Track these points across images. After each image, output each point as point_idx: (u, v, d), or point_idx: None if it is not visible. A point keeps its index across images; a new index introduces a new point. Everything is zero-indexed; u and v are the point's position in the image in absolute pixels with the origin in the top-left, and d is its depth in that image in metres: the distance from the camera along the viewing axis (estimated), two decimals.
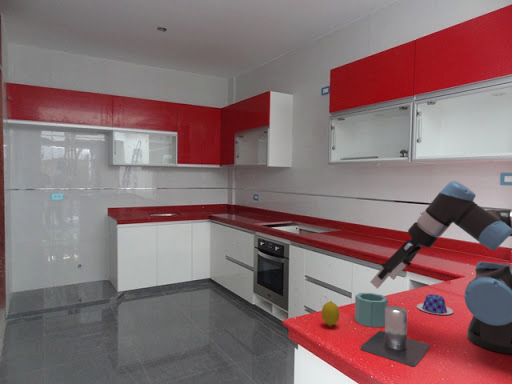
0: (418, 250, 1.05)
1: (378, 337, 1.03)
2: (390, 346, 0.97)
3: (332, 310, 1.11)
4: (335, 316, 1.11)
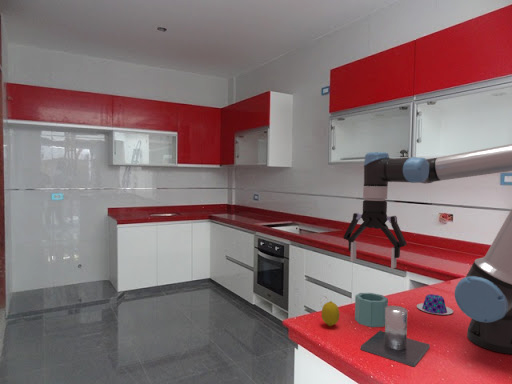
0: (374, 220, 1.16)
1: (378, 337, 1.03)
2: (390, 346, 0.97)
3: (332, 310, 1.11)
4: (335, 316, 1.11)
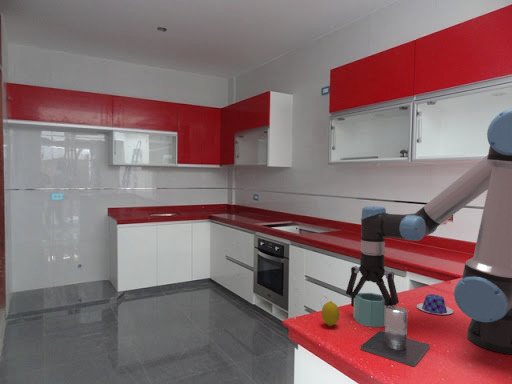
0: (371, 274, 1.16)
1: (378, 337, 1.03)
2: (390, 346, 0.97)
3: (332, 310, 1.11)
4: (335, 316, 1.11)
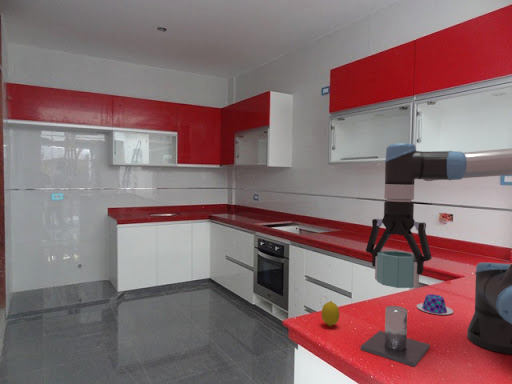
0: (398, 225, 0.96)
1: (378, 337, 1.03)
2: (390, 346, 0.97)
3: (332, 310, 1.11)
4: (335, 316, 1.11)
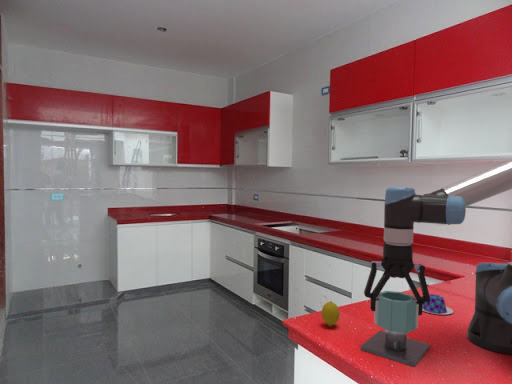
0: (401, 268, 0.96)
1: (378, 337, 1.03)
2: (390, 346, 0.97)
3: (332, 310, 1.11)
4: (335, 316, 1.11)
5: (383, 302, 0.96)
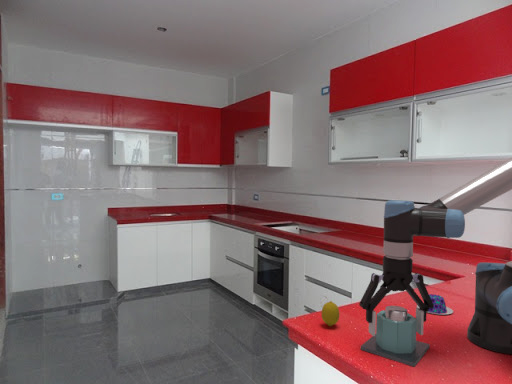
0: (403, 282, 0.96)
1: None
2: None
3: (332, 310, 1.11)
4: (335, 316, 1.11)
5: (388, 324, 0.95)
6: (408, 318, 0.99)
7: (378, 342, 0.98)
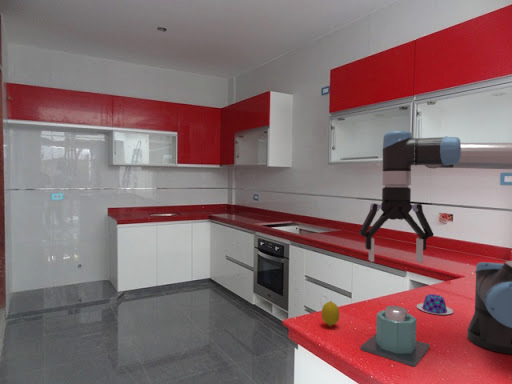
0: (401, 210, 1.00)
1: None
2: None
3: (332, 310, 1.11)
4: (335, 316, 1.11)
5: (388, 324, 0.95)
6: (408, 318, 0.99)
7: (378, 342, 0.98)
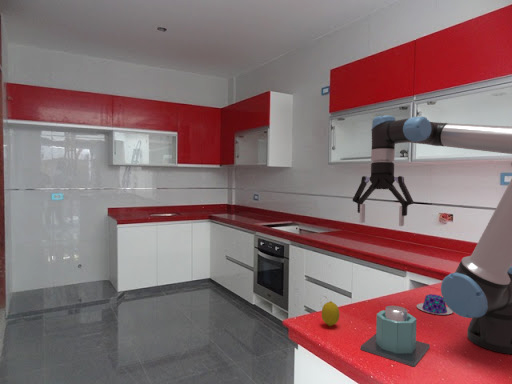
0: (382, 181, 1.21)
1: None
2: None
3: (332, 310, 1.11)
4: (335, 316, 1.11)
5: (388, 324, 0.95)
6: (408, 318, 0.99)
7: (378, 342, 0.98)
